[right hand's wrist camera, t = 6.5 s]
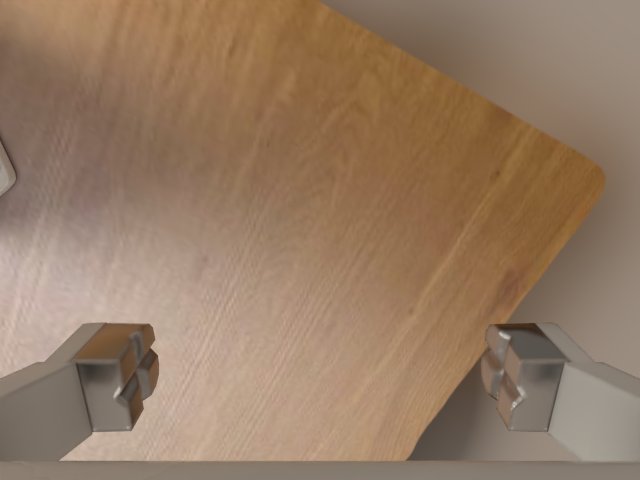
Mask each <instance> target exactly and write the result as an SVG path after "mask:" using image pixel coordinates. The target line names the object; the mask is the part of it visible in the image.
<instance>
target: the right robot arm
mask: <svg viewBox="0 0 640 480" xmlns="http://www.w3.org/2000/svg"><path fill="white" fill-rule="evenodd" d="M15 181H16V174H15V171H14V169H13V167H12V164H11V162H10V160H9V158H8V156H7V154H6V152H5V149H4V147H3V145H2V143H1V141H0V196H1V195H2V194H3V193H5V192H6V191H7V190H8V189H9V188H11V187H12V185H13V184H14V183H15ZM154 341H155V336H154V331H153V327H152V326H151V325H150V324H138V323H86V324H83V325H82V326H81V327H80V328H79V329H78V330H77V331H76V332H74V333H73V334H72V335H71V336H70V337H69V338H68V339H67V340H66V341H65V342H64V343H63V344H62V345H61V346H60V347H59V348H58V349H57V350H56V351H55V352H54V353H53V354H52V355H51V356H50V357H49V358H48V359H47V360H46V361H45V362H37V363H34V364H32V365H30V366H28V367H25V368H23V369H21V370H19V371H16V372H14V373H12V374H10V375H7V376H5V377H3V378H0V480H640V379H639V378H637V377H635V376H633V375H630V374H628V373H626V372H624V371H621V370H619V369H617V368H615V367H612V366H610V365H608V364H606V363H603V362H595V361H594V360H593V359H592V358H591V357H590V356H589V355H588V354H587V353H586V352H585V351H584V350H583V349H582V348H581V347H580V346H579V345H578V344H577V343H576V342H575V341H574V340H573V339H572V338H571V337H570V336H569V335H568V334H567V333H566V332H565V331H564V330H563V329H562V328H561V327H560V326H559V325H557V324H555V323H522V324H490V325H489V326H488V328H487V330H486V336H485V341H486V342H487V344H488V345H489V347H490V348H489V349H488V350H487V351H486V352H485V353H484V354H483V355H482V362H481V374H482V380H483V384H484V387H485V389H486V391H487V393H488V395H489V396H491V397H492V398H494V399H495V400H497V401H498V402H497V408H496V409H497V411H498V413H499V415H500V416H501V418H502V420H503V422H504V424H505V425H506V427H507V429H508V431H525V432H548V435H550V436H551V437H552V438H553V439H555V440H556V441H557V442H559V443H560V444H561V445H562V446H564V447H565V448H566V449H567V450H569V451H570V452H571V453H573V454H574V455H575V456H576V457H578V458H579V459H580V460H581V461H59V460H60V459H61V458H63V457H64V456H65V455H66V454H68V453H69V452H70V451H71V450H73V449H74V448H75V447H77V446H78V445H79V444H80V443H82V442H83V441H84V440H85V439H87V438H88V437H89V436H91V435H92V432H114V431H132V429H133V427H134V425H135V424H136V422H137V420H138V418H139V416H140V415H141V413H142V411H143V409H144V408H143V402H142V401H143V400H145V399H146V398H148V397H149V396H151V395H152V393H153V391H154V389H155V387H156V384H157V380H158V375H159V361H158V355H157V354H156V353H155V352H154V351H153V350H152V349H151V348H150V347H151V345H152V344H153V342H154Z"/></svg>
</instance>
